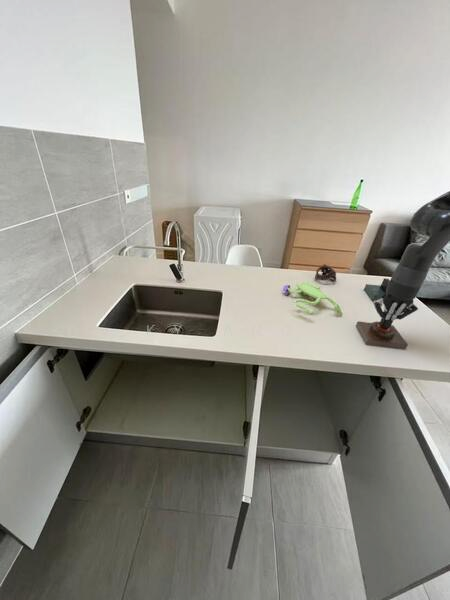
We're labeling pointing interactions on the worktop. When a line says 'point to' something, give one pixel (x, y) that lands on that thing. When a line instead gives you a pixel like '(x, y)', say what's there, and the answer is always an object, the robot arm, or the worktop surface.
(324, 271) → the dark brown dome
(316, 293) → the figurine
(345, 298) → the worktop surface
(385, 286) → the handle
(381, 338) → the button block
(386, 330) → the button
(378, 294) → the panel
